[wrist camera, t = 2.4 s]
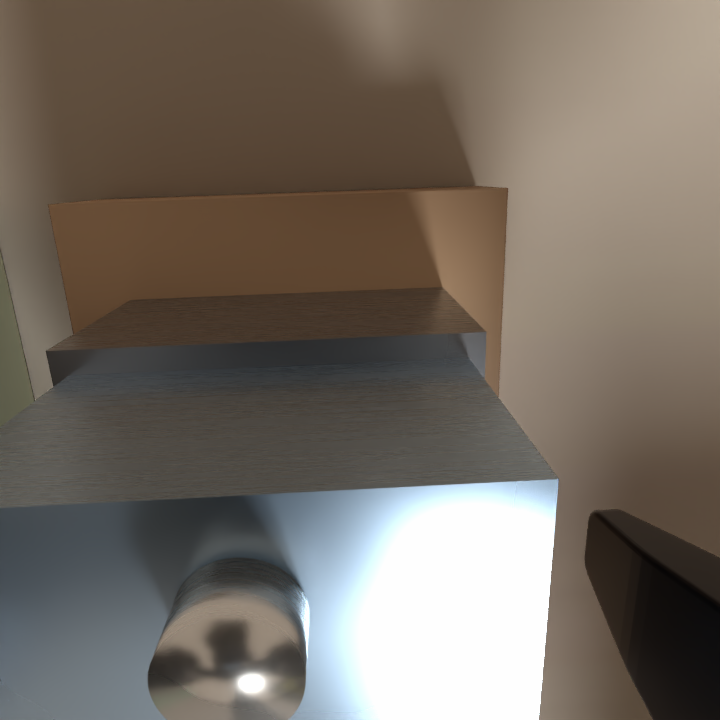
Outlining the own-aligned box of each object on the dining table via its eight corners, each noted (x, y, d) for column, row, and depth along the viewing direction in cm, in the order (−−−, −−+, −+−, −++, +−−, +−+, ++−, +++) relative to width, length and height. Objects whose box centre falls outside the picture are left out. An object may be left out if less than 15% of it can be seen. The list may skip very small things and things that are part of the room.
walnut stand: (464, 617, 14) (485, 687, 12) (173, 633, 14) (147, 708, 12) (477, 186, 11) (508, 187, 9) (100, 199, 10) (47, 204, 9)
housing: (437, 633, 11) (550, 1125, 5) (186, 648, 11) (23, 1170, 5) (442, 286, 9) (634, 485, 3) (131, 299, 9) (-251, 531, 3)
